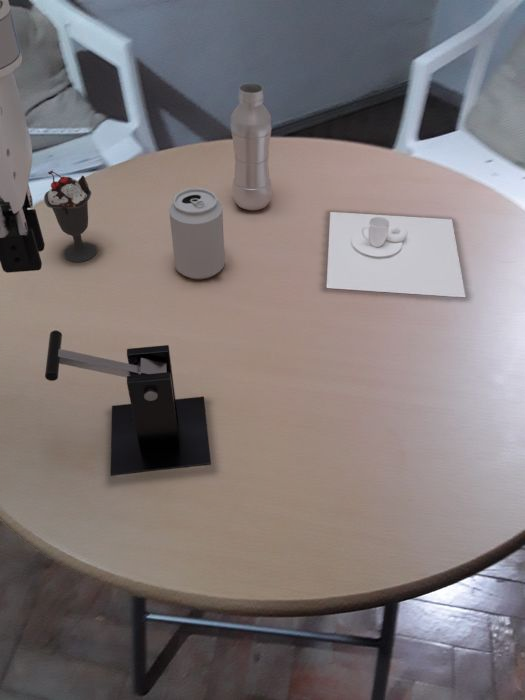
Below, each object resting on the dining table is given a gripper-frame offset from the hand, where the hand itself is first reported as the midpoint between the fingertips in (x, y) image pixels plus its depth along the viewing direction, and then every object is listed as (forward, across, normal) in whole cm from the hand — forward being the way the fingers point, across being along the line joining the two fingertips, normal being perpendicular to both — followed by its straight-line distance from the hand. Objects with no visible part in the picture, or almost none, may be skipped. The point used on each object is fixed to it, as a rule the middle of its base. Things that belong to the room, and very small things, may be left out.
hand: (24, 258), depth 59 cm
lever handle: (+15, 0, +4) cm, 16 cm away
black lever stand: (+27, 0, +9) cm, 29 cm away
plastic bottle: (+27, -48, +26) cm, 61 cm away
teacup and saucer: (+27, -32, +46) cm, 62 cm away
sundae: (+27, -38, -2) cm, 47 cm away
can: (+27, -32, +16) cm, 45 cm away
